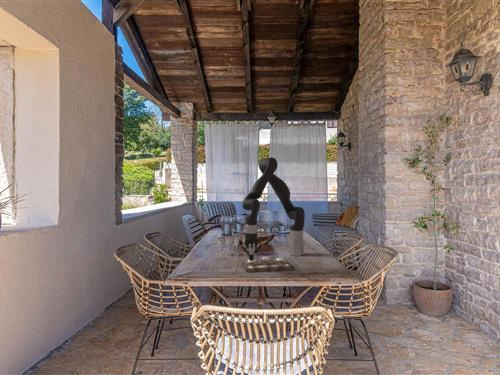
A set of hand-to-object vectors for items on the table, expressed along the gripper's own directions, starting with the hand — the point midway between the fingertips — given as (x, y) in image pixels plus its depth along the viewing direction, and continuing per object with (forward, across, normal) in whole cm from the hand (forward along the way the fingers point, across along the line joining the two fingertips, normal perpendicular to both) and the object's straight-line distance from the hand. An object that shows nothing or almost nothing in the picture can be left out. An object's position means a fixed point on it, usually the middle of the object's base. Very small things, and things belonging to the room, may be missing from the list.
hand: (251, 260), depth 227 cm
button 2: (+2, -18, 0) cm, 18 cm away
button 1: (+2, 0, 0) cm, 2 cm away
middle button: (+1, -9, 0) cm, 9 cm away
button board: (+4, -9, +2) cm, 10 cm away
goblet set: (+5, +3, -37) cm, 37 cm away
